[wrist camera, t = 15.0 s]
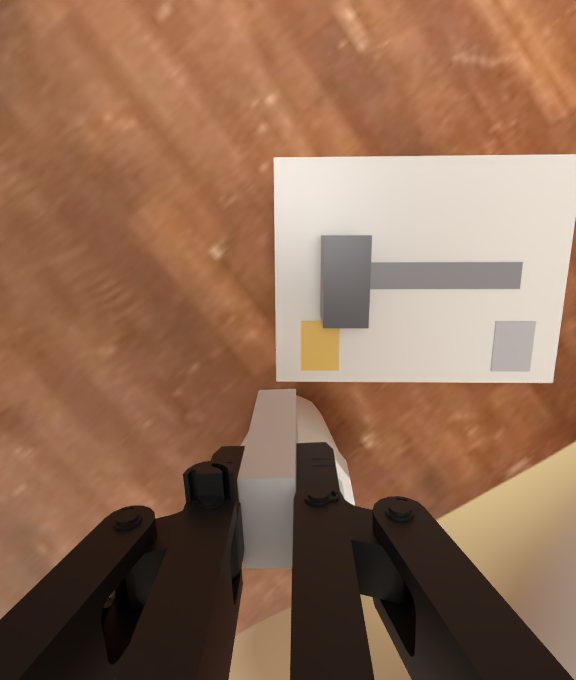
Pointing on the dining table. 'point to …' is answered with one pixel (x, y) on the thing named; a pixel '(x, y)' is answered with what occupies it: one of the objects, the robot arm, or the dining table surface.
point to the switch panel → (427, 266)
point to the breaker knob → (345, 281)
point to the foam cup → (317, 431)
